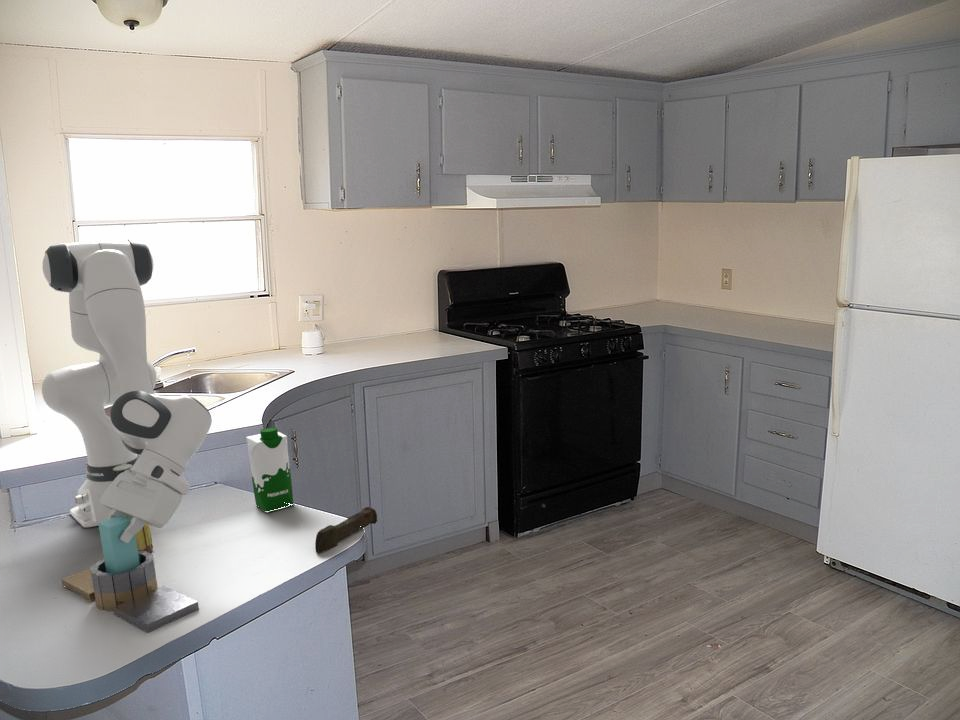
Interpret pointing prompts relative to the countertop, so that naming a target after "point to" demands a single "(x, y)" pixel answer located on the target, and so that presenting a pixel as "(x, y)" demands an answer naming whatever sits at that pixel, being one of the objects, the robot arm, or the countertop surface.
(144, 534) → the sauce bottle
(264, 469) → the milk carton
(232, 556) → the countertop surface
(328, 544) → the hand tool
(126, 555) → the teal square block
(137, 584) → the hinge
